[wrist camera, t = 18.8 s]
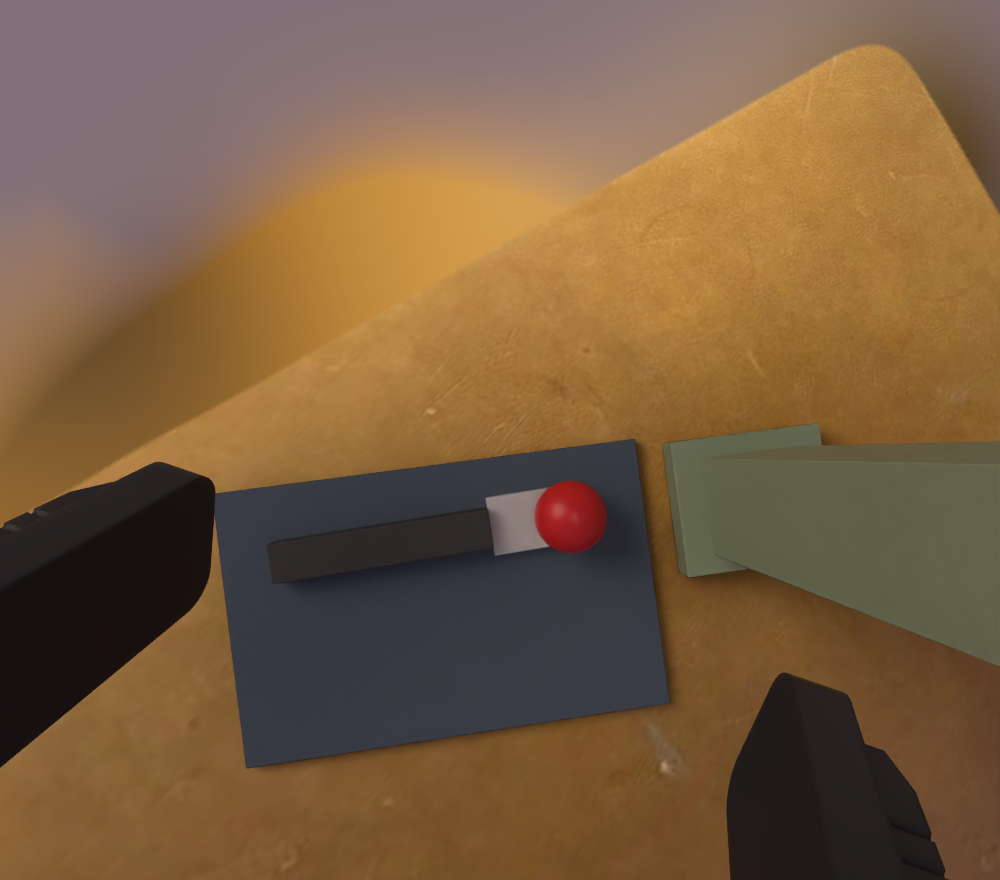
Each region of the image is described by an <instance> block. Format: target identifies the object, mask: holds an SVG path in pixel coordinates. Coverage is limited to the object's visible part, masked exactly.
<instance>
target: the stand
mask: <svg viewBox="0 0 1000 880" xmlns="http://www.w3.org/2000/svg"><path fill="white" fill-rule="evenodd" d="M662 445H663V453H664V460H665V468H666V476H667V483H668V491H669V498H670V506H671V513H672V521H673V528H674V536H675V544H676V551H677V559H678V566H679V572H680V573H681V574H683V575H685V576H687V577H689V578H690V577H697V576H704V575H711V574H718V573H725V572H732V571H739V570H746V569H753V570H755V571H758V572H761V573H763V574H766V575H768V576H771V577H773V578H776V579H778V580H781V581H783V582H786V583H788V584H791V585H793V586H796V587H799V588H801V589H804V590H806V591H809V592H811V593H814V594H816V595H819V596H821V597H824V598H826V599H829V600H832V601H834V602H837V603H839V604H842V605H844V606H847V607H849V608H852V609H854V610H857V611H859V612H862V613H864V614H867V615H870V616H872V617H875V618H877V619H880V620H882V621H885V622H887V623H890V624H892V625H895V626H897V627H900V628H903V629H905V630H908V631H910V632H913V633H915V634H918V635H920V636H923V637H925V638H928V639H930V640H933V641H935V642H938V643H941V644H943V645H946V646H948V647H951V648H953V649H956V650H958V651H961V652H963V653H966V654H968V655H971V656H974V657H976V658H979V659H981V660H984V661H986V662H989V663H991V664H994V665H996V666H999V667H1000V441H997V442H953V443H908V444H863V445H822V440H821V433H820V425H819V424H818V423H817V424H805V425H798V426H790V427H782V428H775V429H767V430H759V431H752V432H744V433H737V434H729V435H721V436H714V437H706V438H698V439H691V440H683V441H675V442H668V443H663V444H662Z"/></svg>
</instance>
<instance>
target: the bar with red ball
mask: <svg viewBox="0 0 1000 880" xmlns="http://www.w3.org/2000/svg"><path fill="white" fill-rule="evenodd" d="M486 506H487V507H483V508H477V509H471V510H464V511H458V512H452V513H446V514H439V515H433V516H427V517H421V518H414V519H408V520H402V521H396V522H389V523H383V524H377V525H371V526H365V527H358V528H352V529H346V530H340V531H333V532H327V533H321V534H315V535H308V536H302V537H296V538H290V539H283V540H277V541H273V542H271V543H269V544H267V552H268V558H269V565H270V572H271V578H272V584H280V583H286V582H292V581H298V580H304V579H311V578H317V577H323V576H329V575H335V574H341V573H347V572H353V571H359V570H365V569H372V568H378V567H384V566H390V565H396V564H402V563H408V562H414V561H420V560H426V559H432V558H439V557H445V556H451V555H457V554H463V553H469V552H475V551H481V550H487V549H493V551H494V555H495V556H497V555H503V554H509V553H515V552H521V551H527V550H534V549H540V548H546V547H551V548H553V549H555V550H557V551H560V552H563V553H579V552H583V551H585V550H587V549H589V548H591V547H592V546H594V545H595V544H596V543H597V542H598V541H599V540H600V538H601V537H602V535H603V533H604V531H605V528H606V524H607V511H606V506H605V504H604V501H603V499H602V498H601V496H600V495H599V494H598V493H597V491H595V490H594V489H593V488H592V487H590V486H589V485H587V484H585V483H582V482H579V481H563V482H559V483H556V484H554V485H552V486H551V487H547V488H541V489H535V490H529V491H522V492H516V493H510V494H504V495H497V496H491V497H486Z"/></svg>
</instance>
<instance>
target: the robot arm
mask: <svg viewBox="0 0 1000 880" xmlns="http://www.w3.org/2000/svg"><path fill="white" fill-rule="evenodd" d="M214 511H215V487H214V484H213V482H212V481H211V480H210V479H209V478H207V477H204V476H201V475H199V474H196V473H193V472H190V471H187V470H184V469H181V468H178V467H175V466H172V465H169V464H166V463H163V462H155V463H152V464H149V465H147V466H145V467H143V468H141V469H139V470H137V471H135V472H133V473H131V474H129V475H127V476H125V477H123V478H121V479H119V480H117V481H115V482H111V483H106V484H102V485H98V486H93V487H89V488H85V489H80V490H76V491H72V492H69V493H66V494H64V495H62V496H60V497H58V498H56V499H54V500H52V501H50V502H48V503H45V504H43V505H41V506H39V507H37V508H35V509H34V511H33V513H32V514H30V513H28V512H26V513H24V514H22V515H20V516H18V517H16V518H14V519H12V520H10V521H8V522H6V523H4V526H3V527H2V528H0V767H2V766H3V765H4V764H5V763H6V762H8V761H9V760H10V759H11V758H12V757H14V756H15V755H16V754H17V753H18V752H20V751H21V750H22V749H23V748H25V747H26V746H27V745H28V744H29V743H31V742H32V741H33V740H34V739H35V738H37V737H38V736H39V735H40V734H41V733H43V732H44V731H45V730H46V729H48V728H49V727H50V726H51V725H52V724H54V723H55V722H56V721H57V720H58V719H60V718H61V717H62V716H63V715H64V714H66V713H67V712H68V711H69V710H70V709H72V708H73V707H74V706H75V705H77V704H78V703H79V702H80V701H81V700H83V699H84V698H85V697H86V696H87V695H89V694H90V693H91V692H92V691H93V690H95V689H96V688H97V687H98V686H99V685H101V684H102V683H103V682H104V681H106V680H107V679H108V678H109V677H110V676H112V675H113V674H114V673H115V672H116V671H118V670H119V669H120V668H121V667H122V666H124V665H125V664H126V663H127V662H128V661H130V660H131V659H132V658H133V657H135V656H136V655H137V654H138V653H139V652H141V651H142V650H143V649H144V648H145V647H147V646H148V645H149V644H150V643H151V642H153V641H154V640H155V639H156V638H157V637H159V636H160V635H161V634H162V633H164V632H165V631H166V630H167V629H168V628H170V627H171V626H172V625H173V624H174V623H176V622H177V621H178V620H179V619H180V618H182V617H183V616H184V615H185V614H186V613H188V612H189V611H190V610H191V609H192V608H193V606H194V605H195V604H196V603H197V601H198V600H199V598H200V597H201V595H202V593H203V591H204V589H205V587H206V584H207V582H208V579H209V574H210V568H211V554H212V540H213V525H214ZM727 829H728V845H729V862H730V879H731V880H948V879H945V877H944V873H945V868H944V865H943V863H942V860H941V857H940V855H939V852H938V849H937V847H936V844H935V842H932V841H931V839H930V838H931V831H930V828H929V826H928V823H927V820H926V818H925V815H924V813H923V810H922V807H921V805H920V802H919V799H918V797H917V794H916V792H915V790H914V789H913V788H912V786H911V785H910V784H909V783H908V781H907V780H906V779H905V777H904V776H903V775H902V773H901V772H900V771H899V769H898V768H897V767H896V766H895V764H894V763H893V762H892V760H891V759H890V758H889V756H888V755H887V754H886V752H885V751H883V750H881V749H878V748H875V747H872V746H869V745H866V744H865V743H864V740H863V737H862V734H861V731H860V728H859V724H858V721H857V718H856V715H855V712H854V709H853V706H852V703H851V700H850V698H849V697H848V695H847V694H846V693H844V692H841V691H838V690H835V689H832V688H829V687H826V686H823V685H820V684H817V683H814V682H811V681H808V680H806V679H803V678H800V677H797V676H794V675H791V674H788V673H781V674H780V675H778V677H777V678H776V679H775V681H774V682H773V684H772V686H771V688H770V690H769V692H768V694H767V696H766V699H765V701H764V703H763V705H762V707H761V709H760V711H759V713H758V715H757V718H756V720H755V722H754V724H753V726H752V728H751V730H750V732H749V735H748V737H747V739H746V741H745V743H744V745H743V747H742V749H741V751H740V754H739V756H738V758H737V760H736V763H735V765H734V768H733V772H732V775H731V779H730V784H729V789H728V796H727Z"/></svg>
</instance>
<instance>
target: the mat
mask: <svg viewBox="0 0 1000 880" xmlns="http://www.w3.org/2000/svg"><path fill="white" fill-rule="evenodd" d="M563 481H579V482H582V483H585V484H587V485H589V486H590V487H592V488H593V489H594V490H595V491H597V493H598V494H599V495H600V496H601V498H602V499H603V501H604V504H605V506H606V511H607V524H606V528H605V531H604V533H603V535H602V537H601V538H600V540H599V541H598V542H597V543H596V544H595V545H594V546H592V547H591V548H589V549H587V550H585V551H583V552H579V553H563V552H560V551H557V550H555V549H553V548H551V547H546V548H540V549H534V550H527V551H521V552H515V553H509V554H503V555H497V556H495V555H494V551H493V549H487V550H481V551H475V552H469V553H463V554H457V555H451V556H445V557H439V558H432V559H426V560H420V561H414V562H408V563H402V564H396V565H390V566H384V567H378V568H372V569H365V570H359V571H353V572H347V573H341V574H335V575H329V576H323V577H317V578H311V579H304V580H298V581H292V582H286V583H280V584H272V578H271V572H270V565H269V558H268V552H267V544H269V543H271V542H273V541H277V540H283V539H290V538H296V537H302V536H308V535H315V534H321V533H327V532H333V531H340V530H346V529H352V528H358V527H365V526H371V525H377V524H383V523H389V522H396V521H402V520H408V519H414V518H421V517H427V516H433V515H439V514H446V513H452V512H458V511H464V510H471V509H477V508H483V507H487V506H486V497H491V496H497V495H504V494H510V493H516V492H522V491H529V490H535V489H541V488H547V487H551V486H552V485H554V484H556V483H559V482H563ZM214 514H215V522H216V530H217V538H218V546H219V554H220V562H221V570H222V578H223V586H224V594H225V602H226V610H227V618H228V626H229V634H230V642H231V650H232V658H233V666H234V674H235V682H236V690H237V698H238V706H239V714H240V722H241V730H242V738H243V746H244V754H245V762H246V768H253V767H260V766H266V765H273V764H279V763H286V762H292V761H299V760H305V759H311V758H318V757H324V756H331V755H337V754H344V753H350V752H357V751H363V750H370V749H376V748H382V747H389V746H395V745H402V744H408V743H415V742H421V741H428V740H434V739H441V738H447V737H454V736H460V735H466V734H473V733H479V732H486V731H492V730H499V729H505V728H512V727H518V726H525V725H531V724H537V723H544V722H550V721H557V720H563V719H570V718H576V717H583V716H589V715H596V714H602V713H609V712H615V711H621V710H628V709H634V708H641V707H647V706H654V705H660V704H667V703H670V701H669V694H668V686H667V678H666V671H665V663H664V656H663V648H662V640H661V633H660V625H659V618H658V610H657V603H656V595H655V587H654V580H653V572H652V565H651V557H650V550H649V542H648V534H647V527H646V519H645V512H644V504H643V496H642V489H641V481H640V474H639V466H638V459H637V451H636V443H635V439H631V440H623V441H616V442H608V443H600V444H593V445H585V446H577V447H570V448H562V449H554V450H547V451H539V452H531V453H524V454H516V455H508V456H501V457H493V458H485V459H478V460H470V461H462V462H455V463H447V464H439V465H432V466H424V467H416V468H409V469H401V470H393V471H385V472H378V473H370V474H362V475H355V476H347V477H339V478H332V479H324V480H316V481H309V482H301V483H293V484H286V485H278V486H270V487H263V488H255V489H247V490H240V491H232V492H224V493H217V494H215V511H214Z"/></svg>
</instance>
